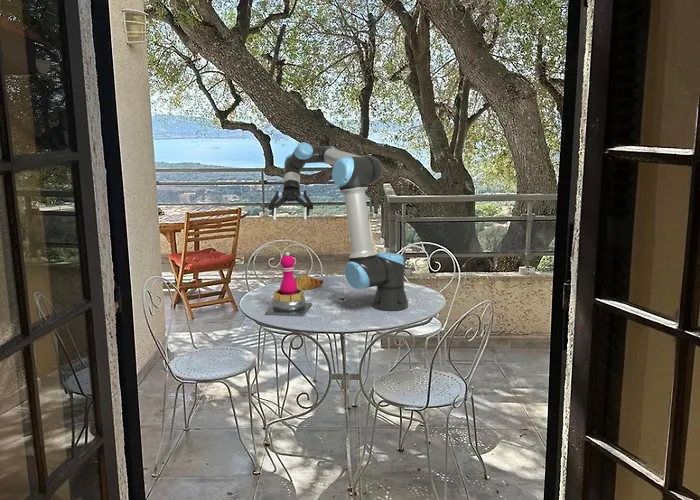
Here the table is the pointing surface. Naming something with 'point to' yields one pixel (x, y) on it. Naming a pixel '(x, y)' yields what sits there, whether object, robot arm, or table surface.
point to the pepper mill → (288, 275)
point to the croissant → (307, 282)
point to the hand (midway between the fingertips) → (290, 221)
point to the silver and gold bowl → (289, 304)
